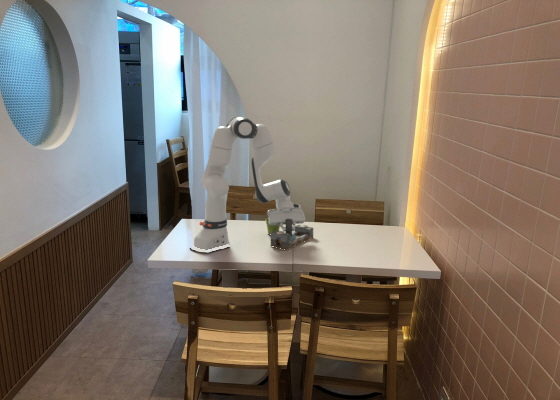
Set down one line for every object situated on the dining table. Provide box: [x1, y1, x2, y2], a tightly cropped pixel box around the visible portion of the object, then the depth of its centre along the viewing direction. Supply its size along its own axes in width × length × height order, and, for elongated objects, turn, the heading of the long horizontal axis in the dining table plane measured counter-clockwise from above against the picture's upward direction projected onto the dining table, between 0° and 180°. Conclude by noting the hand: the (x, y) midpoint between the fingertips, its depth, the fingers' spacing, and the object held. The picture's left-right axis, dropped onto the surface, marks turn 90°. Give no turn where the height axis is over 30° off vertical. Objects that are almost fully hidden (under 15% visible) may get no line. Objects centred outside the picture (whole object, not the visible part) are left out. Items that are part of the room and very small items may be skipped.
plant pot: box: [265, 217, 281, 235], centre depth 266 cm, size 9×9×9 cm
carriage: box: [285, 219, 296, 241], centre depth 249 cm, size 6×5×12 cm
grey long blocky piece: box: [270, 224, 314, 251], centre depth 253 cm, size 27×10×9 cm, turn 144°
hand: (289, 230), depth 248 cm, fingers closed on carriage, 4 cm apart
